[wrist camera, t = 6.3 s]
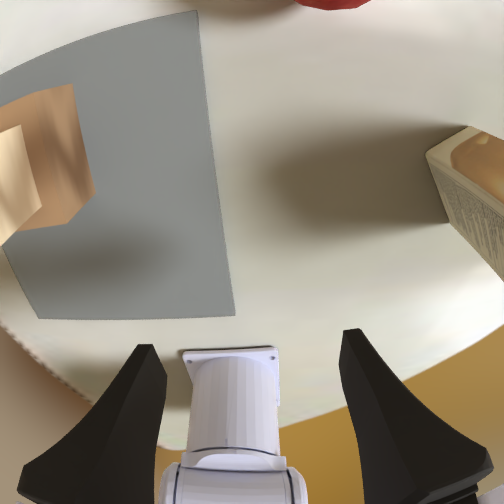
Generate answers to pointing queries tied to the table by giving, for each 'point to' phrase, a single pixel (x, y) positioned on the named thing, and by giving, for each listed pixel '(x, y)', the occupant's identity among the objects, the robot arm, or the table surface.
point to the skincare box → (473, 190)
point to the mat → (131, 182)
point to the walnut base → (52, 153)
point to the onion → (332, 4)
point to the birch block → (15, 183)
